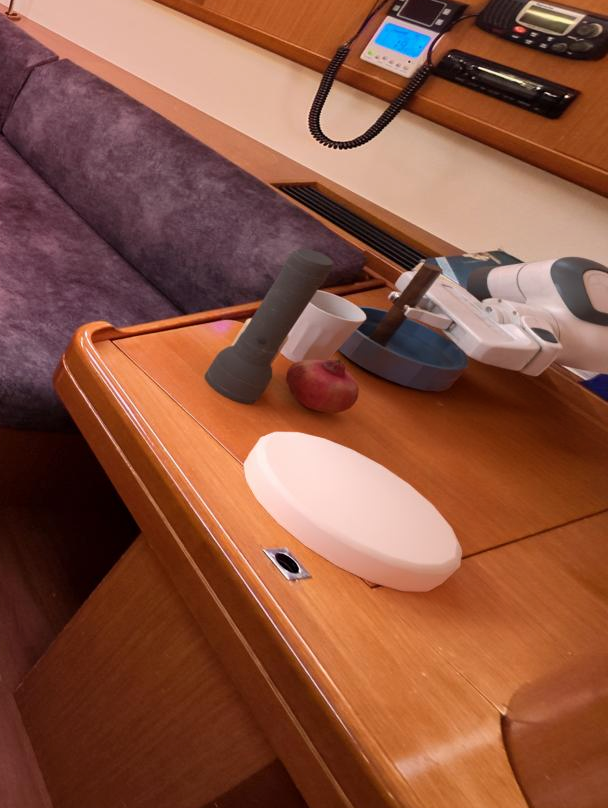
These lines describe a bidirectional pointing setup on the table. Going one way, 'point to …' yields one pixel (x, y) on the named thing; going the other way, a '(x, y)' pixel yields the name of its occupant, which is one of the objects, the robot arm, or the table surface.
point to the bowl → (406, 354)
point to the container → (352, 511)
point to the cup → (322, 328)
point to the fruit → (322, 385)
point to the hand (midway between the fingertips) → (398, 303)
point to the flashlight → (268, 328)
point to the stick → (405, 303)
